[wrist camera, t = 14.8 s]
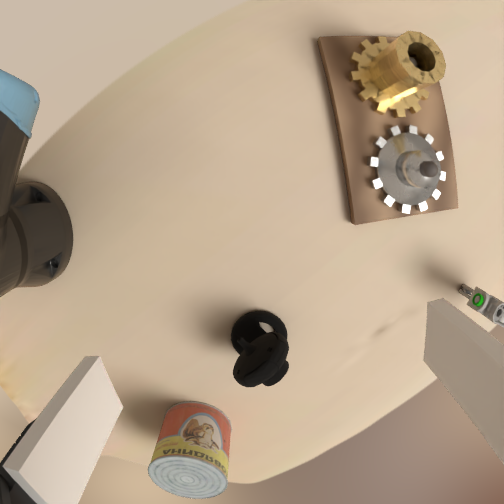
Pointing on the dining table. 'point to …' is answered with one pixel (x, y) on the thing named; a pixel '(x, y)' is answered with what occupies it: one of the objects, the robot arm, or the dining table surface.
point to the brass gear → (397, 72)
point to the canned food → (192, 451)
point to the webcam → (259, 350)
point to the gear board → (381, 134)
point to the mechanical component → (484, 304)
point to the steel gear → (405, 168)
